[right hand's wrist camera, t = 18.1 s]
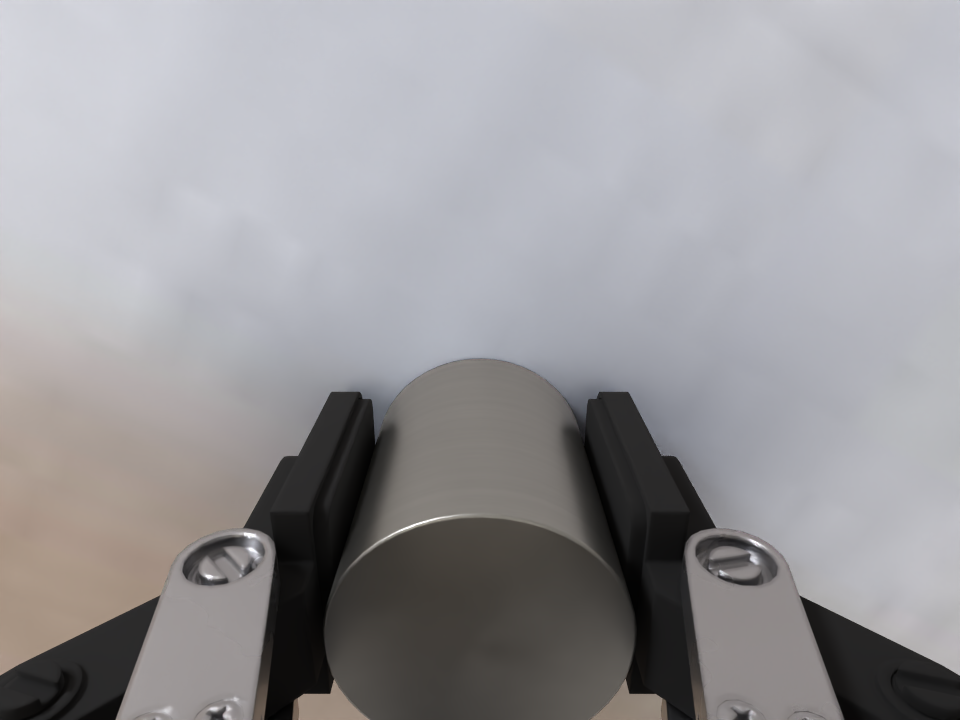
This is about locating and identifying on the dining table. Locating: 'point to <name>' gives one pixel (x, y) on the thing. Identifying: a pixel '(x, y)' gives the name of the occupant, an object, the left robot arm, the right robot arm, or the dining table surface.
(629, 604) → the canister
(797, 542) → the dining table surface
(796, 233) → the dining table surface
